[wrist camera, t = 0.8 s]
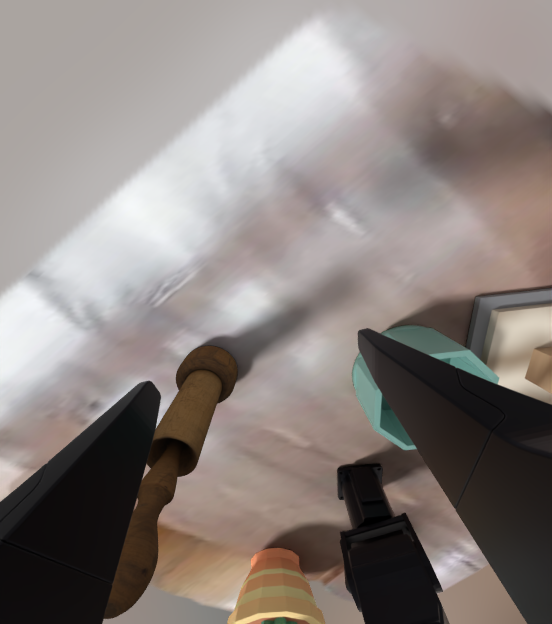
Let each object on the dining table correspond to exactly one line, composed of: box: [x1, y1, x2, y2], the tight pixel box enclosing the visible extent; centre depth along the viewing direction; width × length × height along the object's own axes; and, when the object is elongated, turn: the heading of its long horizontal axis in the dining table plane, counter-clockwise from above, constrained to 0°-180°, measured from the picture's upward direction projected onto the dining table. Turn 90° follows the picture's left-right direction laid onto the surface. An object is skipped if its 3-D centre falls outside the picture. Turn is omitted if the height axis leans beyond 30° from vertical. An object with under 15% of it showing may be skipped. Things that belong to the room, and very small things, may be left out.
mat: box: [466, 288, 552, 360], centre depth 26 cm, size 17×17×1 cm
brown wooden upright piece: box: [104, 346, 238, 619], centre depth 18 cm, size 7×6×18 cm
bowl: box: [352, 325, 499, 450], centre depth 24 cm, size 12×12×6 cm
